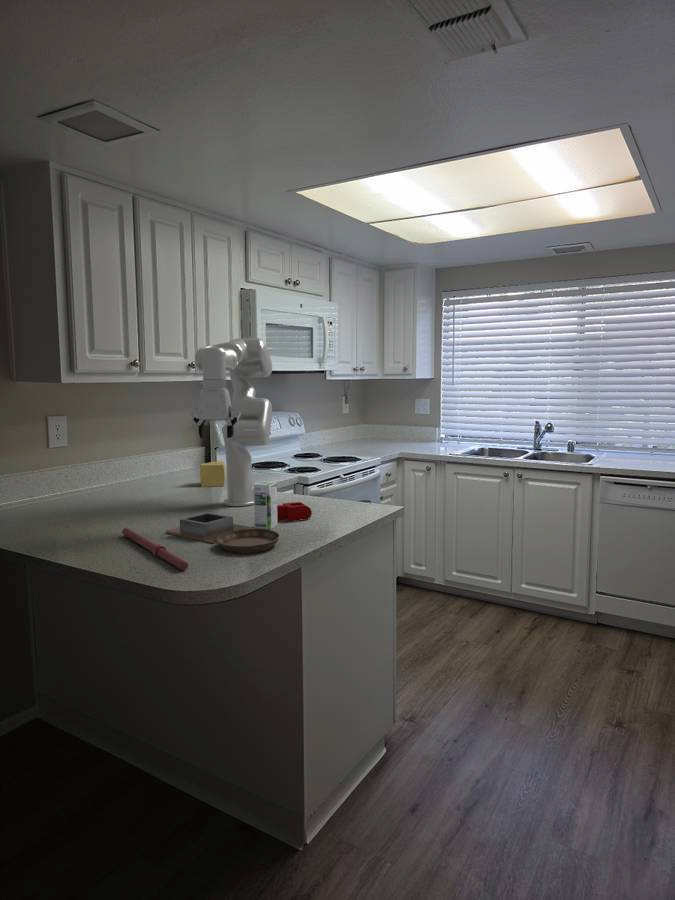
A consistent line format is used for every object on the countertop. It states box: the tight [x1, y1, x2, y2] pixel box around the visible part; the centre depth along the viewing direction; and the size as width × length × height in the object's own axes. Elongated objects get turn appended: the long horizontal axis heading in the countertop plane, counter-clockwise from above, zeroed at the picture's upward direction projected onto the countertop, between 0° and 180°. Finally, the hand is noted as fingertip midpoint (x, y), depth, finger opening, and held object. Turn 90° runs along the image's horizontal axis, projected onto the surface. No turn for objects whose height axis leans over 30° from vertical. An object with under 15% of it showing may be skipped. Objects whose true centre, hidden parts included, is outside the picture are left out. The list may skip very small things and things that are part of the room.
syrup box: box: [253, 481, 278, 530], centre depth 198 cm, size 6×6×14 cm
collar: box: [165, 512, 259, 544], centre depth 193 cm, size 18×22×5 cm
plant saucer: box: [217, 528, 281, 554], centre depth 177 cm, size 18×18×3 cm
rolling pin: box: [121, 527, 189, 571], centre depth 172 cm, size 45×3×3 cm, turn 37°
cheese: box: [199, 461, 226, 488], centre depth 278 cm, size 10×11×10 cm
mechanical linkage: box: [277, 501, 313, 522], centre depth 209 cm, size 16×7×5 cm, turn 111°
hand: (216, 437), depth 204 cm, fingers open, 9 cm apart
